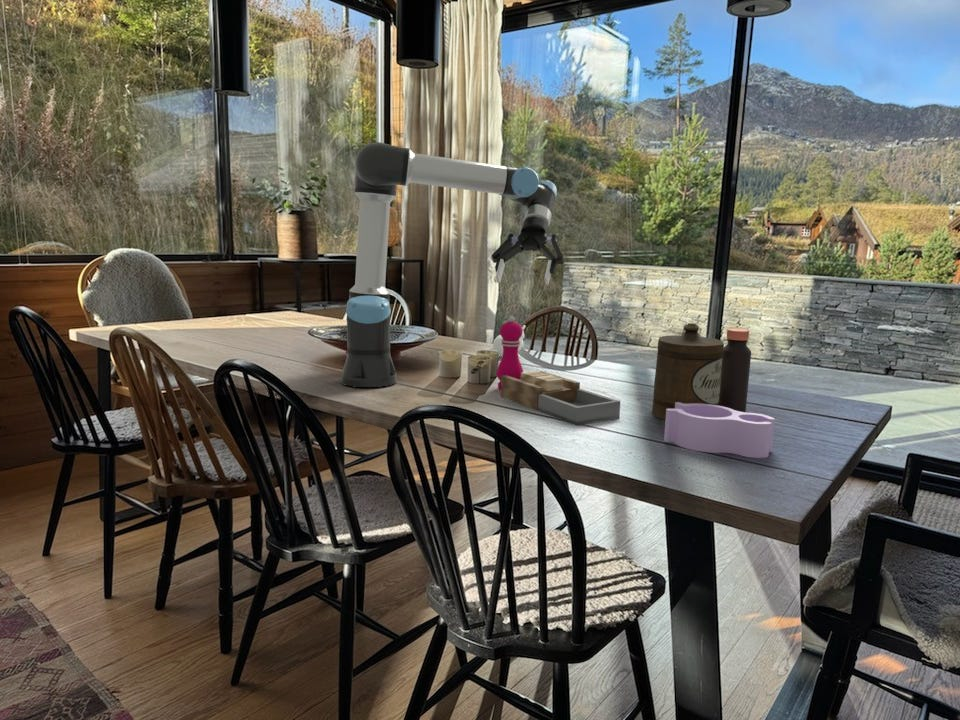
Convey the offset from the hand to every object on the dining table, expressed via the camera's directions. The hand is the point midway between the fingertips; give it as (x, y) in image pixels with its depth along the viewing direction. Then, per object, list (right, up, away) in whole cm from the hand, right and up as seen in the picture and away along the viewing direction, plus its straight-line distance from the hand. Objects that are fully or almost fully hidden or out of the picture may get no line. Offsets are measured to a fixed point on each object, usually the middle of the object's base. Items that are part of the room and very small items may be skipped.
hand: (521, 280), depth 183 cm
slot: (+4, -32, -11) cm, 34 cm away
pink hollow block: (+37, -39, -45) cm, 70 cm away
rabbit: (-1, -21, +47) cm, 52 cm away
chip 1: (+3, -27, -10) cm, 29 cm away
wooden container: (+37, -35, -23) cm, 56 cm away
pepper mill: (-3, -30, 0) cm, 30 cm away
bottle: (+50, -34, -19) cm, 63 cm away
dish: (+12, -34, -24) cm, 43 cm away
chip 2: (+6, -28, -15) cm, 33 cm away
